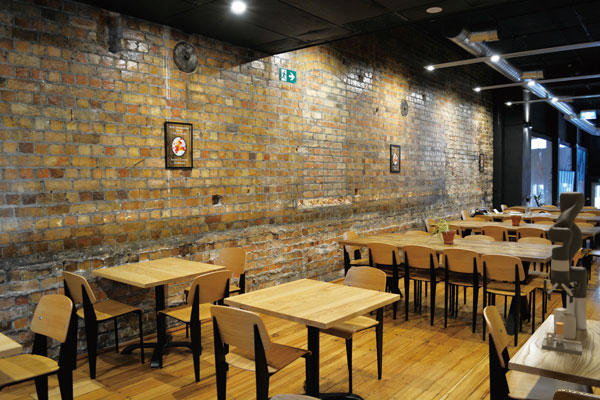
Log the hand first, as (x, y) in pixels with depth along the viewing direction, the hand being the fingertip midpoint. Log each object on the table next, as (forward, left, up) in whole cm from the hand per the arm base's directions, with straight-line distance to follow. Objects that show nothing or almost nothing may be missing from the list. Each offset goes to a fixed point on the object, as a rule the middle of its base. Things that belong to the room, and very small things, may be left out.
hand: (560, 302), depth 214 cm
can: (-12, +11, -22) cm, 27 cm away
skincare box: (-21, +13, -22) cm, 33 cm away
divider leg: (+1, -1, -20) cm, 20 cm away
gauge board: (+2, 0, -22) cm, 22 cm away
